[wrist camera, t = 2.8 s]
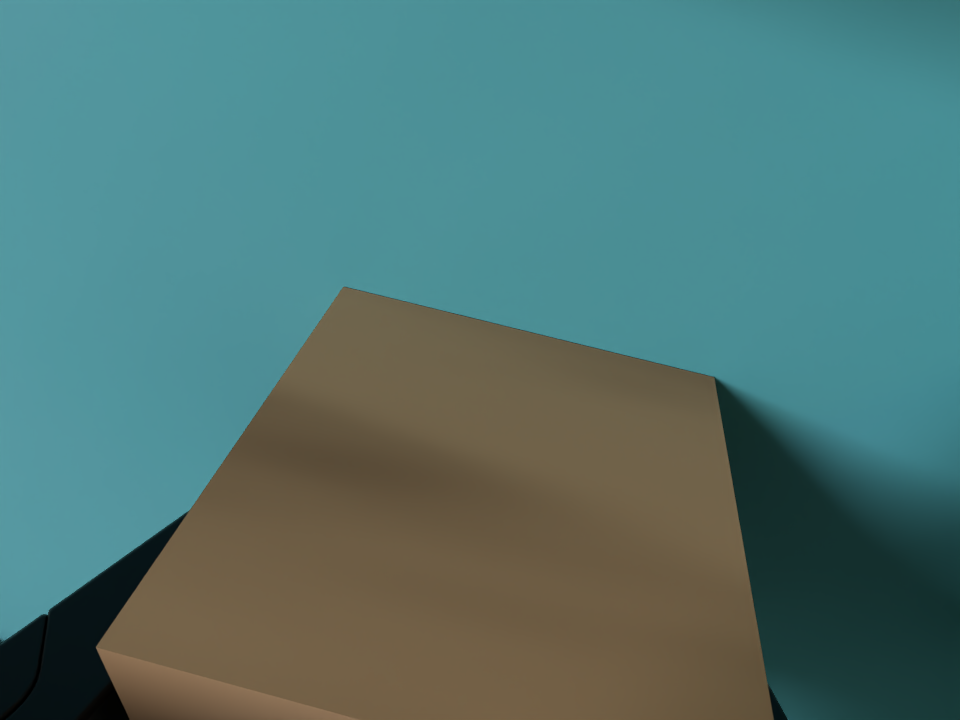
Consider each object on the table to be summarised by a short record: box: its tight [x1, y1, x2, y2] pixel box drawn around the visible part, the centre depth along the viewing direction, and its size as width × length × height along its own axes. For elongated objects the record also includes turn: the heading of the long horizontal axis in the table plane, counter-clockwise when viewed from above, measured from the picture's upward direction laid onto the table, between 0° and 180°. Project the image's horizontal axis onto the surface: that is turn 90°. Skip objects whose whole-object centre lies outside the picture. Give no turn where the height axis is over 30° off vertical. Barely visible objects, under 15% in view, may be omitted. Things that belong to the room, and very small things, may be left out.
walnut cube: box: [96, 287, 774, 720], centre depth 8 cm, size 5×5×5 cm
